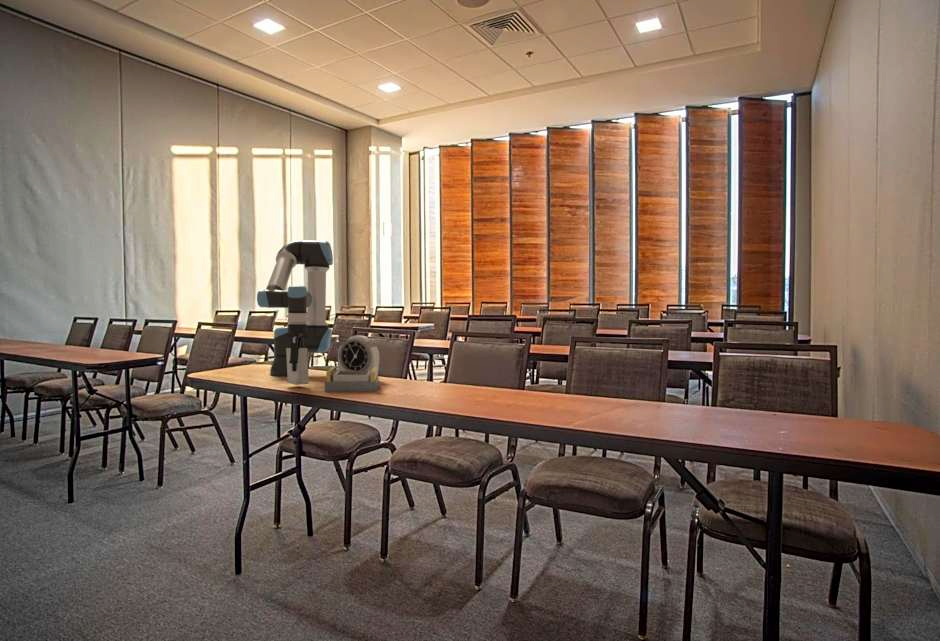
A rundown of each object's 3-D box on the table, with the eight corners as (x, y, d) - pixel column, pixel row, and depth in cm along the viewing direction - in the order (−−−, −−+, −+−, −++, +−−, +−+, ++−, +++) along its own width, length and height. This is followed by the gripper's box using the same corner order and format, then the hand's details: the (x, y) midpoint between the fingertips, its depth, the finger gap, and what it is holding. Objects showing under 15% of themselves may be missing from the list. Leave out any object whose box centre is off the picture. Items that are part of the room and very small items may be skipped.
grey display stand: (330, 388, 242) (331, 366, 241) (378, 388, 244) (378, 366, 243) (324, 394, 226) (325, 371, 225) (375, 394, 228) (376, 371, 227)
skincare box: (309, 384, 235) (309, 348, 234) (295, 385, 231) (295, 349, 230) (299, 381, 241) (299, 346, 240) (285, 382, 237) (285, 347, 236)
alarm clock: (336, 380, 257) (336, 335, 256) (345, 377, 265) (345, 334, 264) (372, 382, 252) (372, 337, 251) (380, 379, 260) (381, 335, 259)
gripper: (293, 321, 245) (293, 373, 246) (281, 325, 223) (281, 381, 224) (311, 321, 246) (311, 373, 247) (301, 325, 224) (301, 381, 225)
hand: (297, 377), depth 236 cm, fingers closed on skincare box, 10 cm apart
